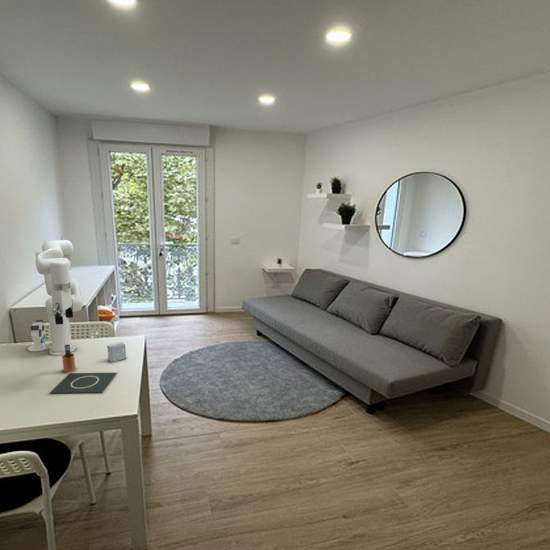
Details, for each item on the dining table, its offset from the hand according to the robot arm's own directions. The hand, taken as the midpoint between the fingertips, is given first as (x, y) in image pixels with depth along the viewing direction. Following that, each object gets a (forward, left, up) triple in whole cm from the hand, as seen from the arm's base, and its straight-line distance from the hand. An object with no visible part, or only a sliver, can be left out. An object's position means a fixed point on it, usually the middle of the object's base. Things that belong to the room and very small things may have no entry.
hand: (64, 320), depth 172 cm
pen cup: (0, 0, -26) cm, 26 cm away
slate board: (+13, -13, -26) cm, 32 cm away
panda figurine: (-30, +29, -26) cm, 49 cm away
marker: (0, 0, -26) cm, 26 cm away
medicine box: (+19, +12, -26) cm, 35 cm away
